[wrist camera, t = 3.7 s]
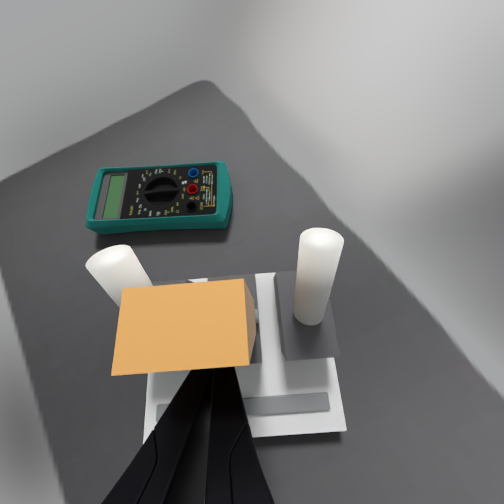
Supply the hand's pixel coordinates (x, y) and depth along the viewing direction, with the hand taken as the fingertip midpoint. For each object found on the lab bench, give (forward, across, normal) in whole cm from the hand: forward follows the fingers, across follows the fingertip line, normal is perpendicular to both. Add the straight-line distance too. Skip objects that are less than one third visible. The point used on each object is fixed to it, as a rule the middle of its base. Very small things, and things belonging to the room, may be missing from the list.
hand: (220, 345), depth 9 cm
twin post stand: (+6, 0, +8) cm, 9 cm away
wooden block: (+4, 0, +2) cm, 4 cm away
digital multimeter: (+17, +8, -3) cm, 19 cm away
